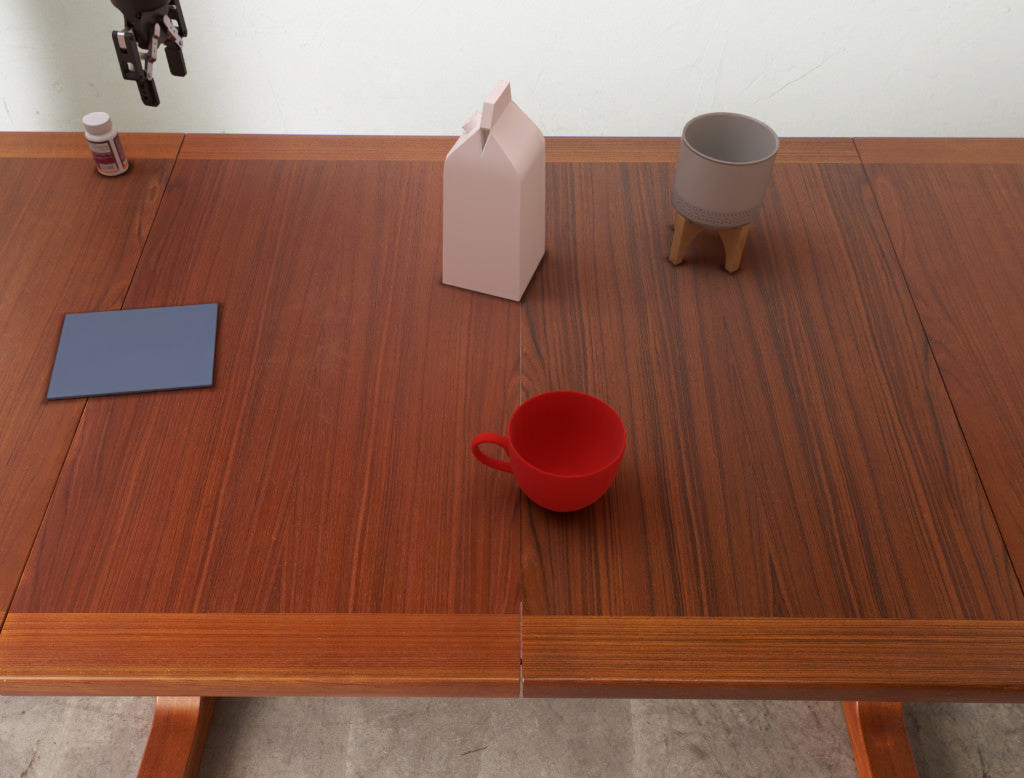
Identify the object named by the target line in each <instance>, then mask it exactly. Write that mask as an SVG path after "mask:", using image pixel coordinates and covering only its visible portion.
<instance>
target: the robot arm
mask: <svg viewBox="0 0 1024 778" xmlns="http://www.w3.org/2000/svg"><path fill="white" fill-rule="evenodd" d="M109 1H110V4H111V5H112V6H113V7H114V8H115V9H117V10H118V11H119V12H120V14H122V17H123V27H124V28H123V29H121V30H115V29H114V30H112V31H111V39H112V43H113V46H114V51H115V54H116V57H117V62H118V65H119V69H120V72H121V73H120V74H121V75H122V79H123V80H125V81H133V82H135V83H136V86H137V89H138V93H139V96H140V100H141V102H142V103H143V104H142V105H144V106H146V107H153V108H158V107H159V106H160V104H161V100H160V97H159V93H158V90H157V89H158V88H157V86H156V81H155V78H154V77H153V69H154V68H153V67H154V63H156V62H157V58H158V49H159V48H160V46H161V45H163V46H165V47H164V48H163V49H164V53H165V59H166V61H167V64H168V69H169V73H170V74H171V76H173V77H180V78H185V77H186V75H187V74H188V69H187V66H186V62H185V58H184V54H183V47H184V40H183V38H187V37H188V35H189V34H188V28H187V25H186V20H185V16H184V13H183V10H182V9H183V8H182V6H181V2H180V0H109ZM173 21H176V23H177V25H174V23H173ZM139 48H140V49H141V50H143V51H144V50H145V51H146V52H142V51H139ZM142 61H144V67H143V64H142ZM129 64H130V66H129Z"/></svg>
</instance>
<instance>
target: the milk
mask: <svg viewBox="0 0 1024 778" xmlns="http://www.w3.org/2000/svg"><path fill="white" fill-rule="evenodd" d="M511 90H512V89H511V81H506V80H501V79H499V80H498V81H497V83H496V84H495V86H494V87H493V89H492V90H491V91H490V93H489V94H488V96H486V98H485V100H484V101H483V105H482V110H481V112H480V111H479V110H476V111H475V112H474V113H472V115H470V116H469V117H468V119H466V121H465V122H464V123H463V124H462V126H461V128H462V129H463V132H462V133H461V135H460V136H459V138H458V139H457V140H456V141H455V143H454V144H453V146H452V147H451V149H450V150H449V151H448V153H447V154H446V157H445V160H444V163H443V170H442V171H443V172H442V174H443V175H442V284H445V285H448V286H453V287H456V288H460V289H465V290H470V291H473V292H478V293H482V294H485V295H490V296H495V297H498V298H503V299H507V300H511V301H515V302H520V301H521V298H522V297H523V295H524V293H525V291H526V290H527V287H528V285H529V284H530V281H531V280H532V278H533V277H534V274H535V272H536V270H537V268H538V266H539V264H540V263H541V261H542V259H543V257H544V255H545V253H546V139H545V135H544V133H543V132H542V130H541V129H540V127H538V125H537V124H536V123H535V122H534V121H533V120H532V119H531V118H530V117H529V116H528V115H527V113H525V112H524V110H523V109H522V108H521V107H520V106H519V105H518V104H517V103H516V102H515V101H514V100H512V91H511Z"/></svg>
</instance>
